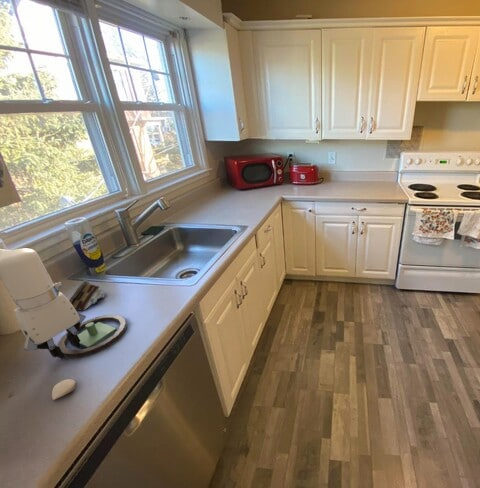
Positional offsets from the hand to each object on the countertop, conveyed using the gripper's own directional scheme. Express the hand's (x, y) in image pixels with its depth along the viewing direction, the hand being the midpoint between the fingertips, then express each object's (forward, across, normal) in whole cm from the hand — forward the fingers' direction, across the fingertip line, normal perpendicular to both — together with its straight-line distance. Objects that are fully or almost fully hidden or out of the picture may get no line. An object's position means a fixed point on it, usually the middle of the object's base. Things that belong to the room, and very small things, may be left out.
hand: (68, 350), depth 77 cm
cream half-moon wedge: (+1, +8, +13) cm, 15 cm away
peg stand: (+1, -7, 0) cm, 7 cm away
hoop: (+1, -7, 0) cm, 7 cm away
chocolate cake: (+1, -17, -19) cm, 26 cm away
